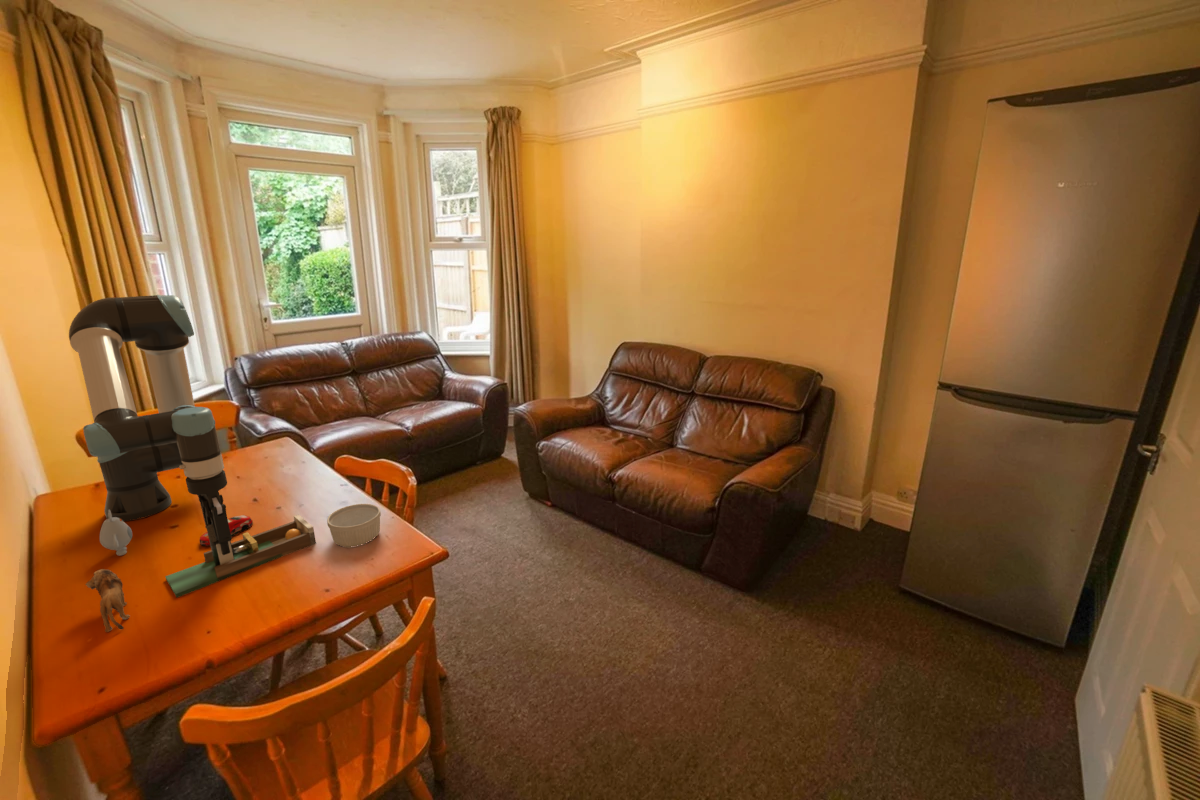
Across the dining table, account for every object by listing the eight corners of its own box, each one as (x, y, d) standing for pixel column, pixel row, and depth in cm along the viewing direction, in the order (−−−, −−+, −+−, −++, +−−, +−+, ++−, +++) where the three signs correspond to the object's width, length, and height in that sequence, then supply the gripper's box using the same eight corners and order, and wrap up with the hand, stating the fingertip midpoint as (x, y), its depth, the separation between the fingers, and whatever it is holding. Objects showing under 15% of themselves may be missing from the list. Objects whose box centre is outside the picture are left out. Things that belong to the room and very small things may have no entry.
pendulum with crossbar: (211, 561, 131) (202, 521, 128) (250, 547, 137) (242, 509, 134) (219, 572, 127) (210, 531, 124) (260, 557, 133) (252, 518, 130)
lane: (166, 579, 126) (161, 561, 125) (301, 530, 148) (298, 514, 147) (176, 597, 120) (171, 578, 118) (316, 543, 142) (313, 526, 140)
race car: (208, 550, 139) (205, 536, 138) (195, 545, 141) (192, 532, 140) (257, 526, 151) (254, 513, 149) (244, 522, 153) (241, 510, 152)
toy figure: (137, 557, 135) (125, 515, 132) (104, 566, 131) (91, 523, 128) (136, 540, 143) (125, 500, 139) (105, 548, 139) (93, 507, 135)
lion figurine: (92, 608, 116) (81, 572, 114) (123, 596, 120) (113, 561, 118) (107, 638, 108) (95, 600, 105) (140, 624, 112) (130, 587, 109)
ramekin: (322, 537, 145) (318, 514, 143) (370, 520, 154) (367, 498, 152) (342, 556, 136) (339, 532, 134) (391, 536, 145) (389, 514, 143)
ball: (282, 540, 142) (284, 527, 141) (296, 538, 144) (298, 526, 144) (287, 545, 139) (289, 532, 139) (301, 543, 142) (304, 530, 142)
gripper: (176, 468, 126) (196, 553, 133) (195, 489, 116) (217, 581, 122) (213, 459, 132) (231, 541, 138) (235, 478, 121) (253, 567, 128)
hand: (224, 560), depth 130 cm, fingers closed on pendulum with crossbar, 4 cm apart
